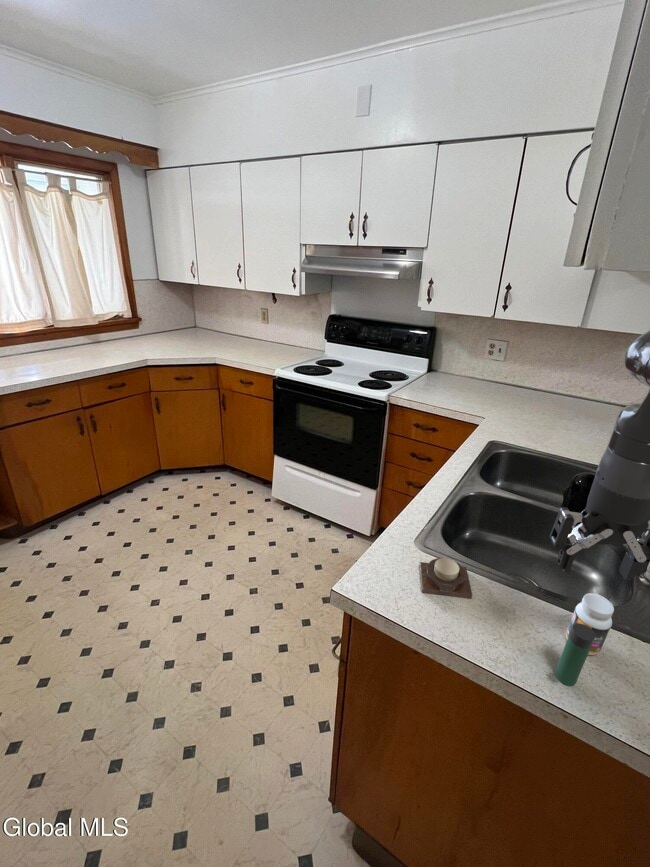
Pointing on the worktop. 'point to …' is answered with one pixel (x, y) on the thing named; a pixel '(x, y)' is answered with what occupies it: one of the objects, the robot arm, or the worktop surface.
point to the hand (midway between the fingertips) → (593, 572)
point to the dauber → (574, 654)
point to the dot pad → (446, 569)
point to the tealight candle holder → (444, 582)
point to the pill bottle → (594, 618)
